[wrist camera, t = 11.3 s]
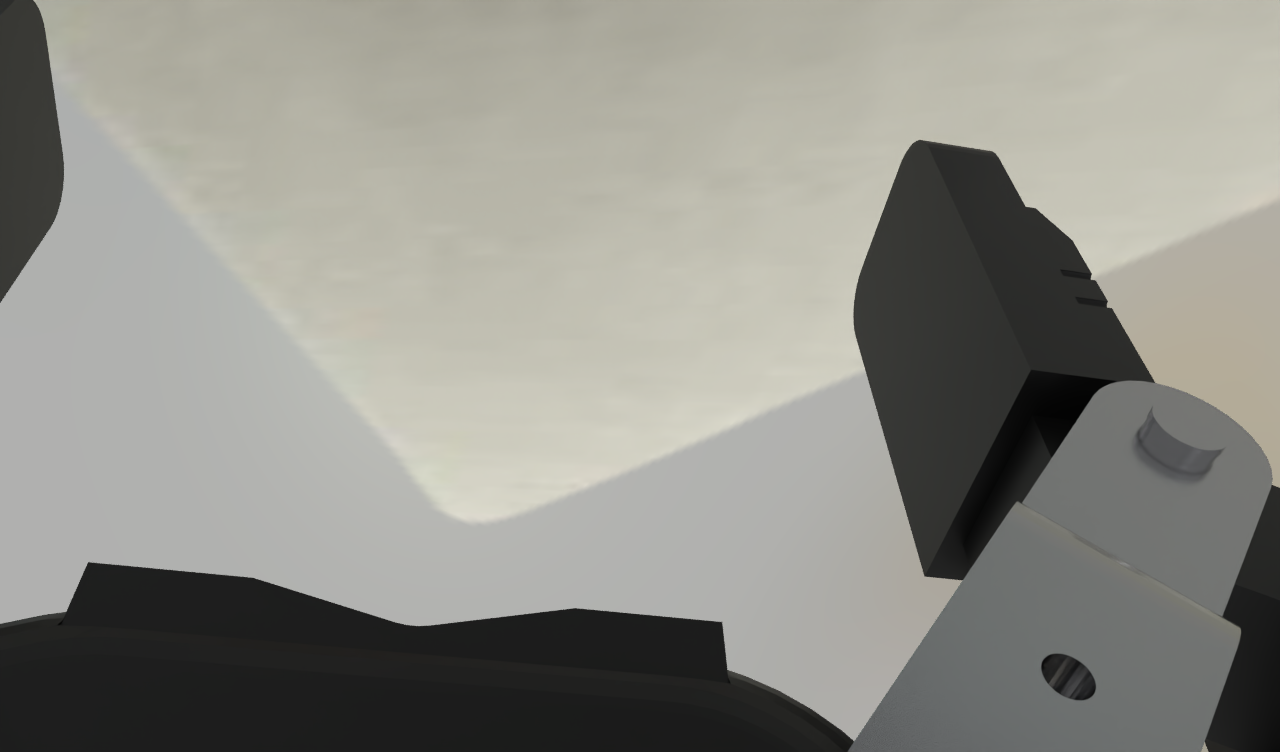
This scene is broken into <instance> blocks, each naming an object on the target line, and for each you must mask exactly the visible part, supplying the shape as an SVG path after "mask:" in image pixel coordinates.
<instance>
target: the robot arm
mask: <svg viewBox="0 0 1280 752" xmlns="http://www.w3.org/2000/svg"><path fill="white" fill-rule="evenodd" d="M63 181H64V162H63V152H62V145H61V138H60V131H59V125H58V118H57V110H56V103H55V96H54V89H53V82H52V75H51V68H50V61H49V54H48V47H47V40H46V33H45V28H44V23H43V19H42V16H41V13H40V11H39V8H38V7H37V5H36V3H35V2H34V1H33V0H0V302H1V301H2V299H3V298H4V296H5V295H6V293H7V292H8V290H9V289H10V287H11V286H12V284H13V283H14V281H15V280H16V278H17V277H18V275H19V274H20V272H21V271H22V269H23V268H24V266H25V265H26V263H27V262H28V260H29V259H30V257H31V256H32V254H33V253H34V251H35V250H36V248H37V247H38V245H39V244H40V242H41V241H42V239H43V238H44V236H45V235H46V233H47V232H48V230H49V229H50V227H51V226H52V224H53V222H54V220H55V218H56V215H57V212H58V209H59V205H60V202H61V197H62V191H63ZM1091 275H1092V273H1091V272H1090V270H1089V268H1088V267H1087V265H1086V263H1085V261H1084V260H1083V258H1082V256H1081V255H1080V253H1079V251H1078V249H1077V248H1076V246H1075V244H1074V242H1073V241H1072V240H1071V239H1070V238H1069V237H1068V236H1067V235H1065V234H1064V233H1063V232H1062V231H1061V230H1060V229H1059V228H1057V227H1056V226H1055V225H1054V224H1053V223H1052V222H1051V221H1049V220H1048V219H1047V218H1046V217H1045V216H1044V215H1043V214H1041V213H1040V212H1039V211H1038V210H1037V209H1036V208H1030V207H1025V205H1024V203H1023V201H1022V200H1021V198H1020V196H1019V194H1018V192H1017V190H1016V189H1015V187H1014V185H1013V183H1012V181H1011V179H1010V178H1009V176H1008V174H1007V172H1006V170H1005V169H1004V167H1003V165H1002V163H1001V161H1000V159H999V158H998V156H997V155H996V154H995V153H994V152H992V151H986V150H980V149H974V148H967V147H961V146H955V145H948V144H942V143H936V142H930V141H923V140H918V141H916V142H914V143H913V144H912V145H911V146H910V148H909V149H908V151H907V152H906V154H905V156H904V158H903V160H902V162H901V164H900V167H899V169H898V172H897V175H896V178H895V180H894V183H893V186H892V188H891V191H890V194H889V197H888V199H887V202H886V205H885V207H884V210H883V213H882V215H881V218H880V221H879V224H878V226H877V229H876V232H875V234H874V237H873V240H872V242H871V245H870V248H869V251H868V253H867V256H866V259H865V261H864V264H863V267H862V270H861V273H860V276H859V279H858V283H857V288H856V293H855V300H854V316H853V317H854V330H855V335H856V339H857V342H858V346H859V349H860V353H861V356H862V360H863V363H864V367H865V370H866V374H867V377H868V380H869V384H870V388H871V391H872V395H873V398H874V401H875V405H876V409H877V412H878V416H879V419H880V422H881V426H882V429H883V433H884V436H885V440H886V443H887V447H888V450H889V454H890V457H891V461H892V464H893V468H894V471H895V475H896V478H897V482H898V485H899V489H900V492H901V495H902V499H903V503H904V506H905V510H906V513H907V517H908V520H909V524H910V527H911V531H912V534H913V538H914V541H915V544H916V548H917V552H918V555H919V558H920V562H921V565H922V569H923V572H924V576H926V577H936V578H946V579H955V580H963V581H962V582H961V584H960V586H959V587H958V589H957V590H956V591H955V593H954V594H953V596H952V597H951V599H950V600H949V602H948V603H947V605H946V606H945V608H944V609H943V611H942V612H941V614H940V615H939V617H938V618H937V620H936V621H935V623H934V624H933V625H932V627H931V628H930V630H929V631H928V633H927V634H926V636H925V637H924V639H923V640H922V642H921V643H920V645H919V646H918V648H917V649H916V651H915V652H914V654H913V655H912V657H911V658H910V660H909V661H908V663H907V664H906V666H905V667H904V669H903V670H902V672H901V673H900V675H899V676H898V677H897V679H896V680H895V682H894V684H893V685H892V686H891V688H890V689H889V691H888V693H887V694H886V695H885V697H884V698H883V700H882V701H881V703H880V704H879V706H878V707H877V709H876V710H875V712H874V713H873V715H872V716H871V718H870V719H869V721H868V722H867V723H866V725H865V726H864V728H863V729H862V731H861V732H860V734H859V735H858V737H857V738H856V740H855V741H853V740H852V739H851V738H850V737H848V736H847V735H846V734H845V733H844V732H843V731H842V730H840V729H839V728H837V727H836V726H834V725H833V724H832V723H830V722H829V721H827V720H826V719H825V718H823V717H822V716H820V715H819V714H817V713H816V712H814V711H813V710H812V709H810V708H808V707H807V706H805V705H803V704H801V703H800V702H798V701H796V700H794V699H793V698H790V697H789V696H787V695H785V694H783V693H782V692H780V691H778V690H776V689H774V688H771V687H769V686H766V685H764V684H762V683H760V682H758V681H755V680H753V679H751V678H749V677H746V676H743V675H741V674H738V673H735V672H732V671H729V670H727V663H726V653H725V644H724V636H723V626H722V622H714V621H704V620H693V619H683V618H672V617H662V616H651V615H640V614H629V613H619V612H609V611H598V610H587V609H577V608H574V609H566V610H558V611H549V612H540V613H533V614H524V615H515V616H507V617H499V618H490V619H482V620H473V621H465V622H457V623H448V624H440V625H431V626H410V625H404V624H399V623H395V622H392V621H388V620H385V619H382V618H379V617H376V616H373V615H370V614H367V613H363V612H360V611H357V610H354V609H350V608H347V607H344V606H341V605H338V604H335V603H331V602H328V601H325V600H322V599H319V598H315V597H312V596H309V595H306V594H303V593H299V592H296V591H293V590H290V589H287V588H283V587H280V586H277V585H274V584H271V583H268V582H264V581H261V580H258V579H255V578H248V577H238V576H227V575H216V574H206V573H195V572H185V571H173V570H163V569H153V568H142V567H131V566H121V565H111V564H100V563H90V562H88V564H87V566H86V569H85V571H84V573H83V576H82V578H81V580H80V582H79V584H78V587H77V589H76V591H75V594H74V596H73V598H72V600H71V603H70V605H69V607H68V609H67V612H63V613H56V614H48V615H42V616H37V617H32V618H27V619H22V620H17V621H13V622H8V623H3V624H0V752H1201V750H1202V747H1203V745H1204V742H1205V743H1206V746H1207V749H1208V751H1209V752H1280V488H1278V487H1276V486H1273V485H1272V479H1273V478H1272V470H1271V467H1270V464H1269V461H1268V459H1267V457H1266V455H1265V454H1264V452H1263V450H1262V449H1261V447H1260V446H1259V445H1258V444H1257V442H1256V441H1255V440H1254V439H1253V437H1252V436H1251V435H1250V434H1249V433H1248V432H1247V431H1246V430H1244V428H1243V427H1242V426H1240V425H1239V424H1238V423H1237V422H1235V421H1234V420H1233V419H1232V418H1230V417H1229V416H1228V415H1226V414H1225V413H1223V412H1222V411H1220V410H1218V409H1217V408H1216V407H1214V406H1212V405H1210V404H1209V403H1206V402H1205V401H1203V400H1201V399H1199V398H1197V397H1195V396H1193V395H1190V394H1188V393H1186V392H1183V391H1180V390H1178V389H1175V388H1172V387H1168V386H1165V385H1161V384H1157V383H1155V382H1154V380H1153V378H1152V377H1151V375H1150V373H1149V371H1148V370H1147V368H1146V366H1145V364H1144V363H1143V361H1142V359H1141V358H1140V356H1139V354H1138V352H1137V351H1136V349H1135V347H1134V346H1133V344H1132V342H1131V341H1130V339H1129V337H1128V335H1127V334H1126V332H1125V330H1124V329H1123V327H1122V325H1121V323H1120V321H1119V320H1118V318H1117V316H1116V315H1115V313H1114V311H1113V309H1112V308H1107V302H1108V301H1107V299H1106V297H1105V296H1104V294H1103V292H1102V291H1101V289H1100V287H1099V286H1098V284H1097V282H1096V281H1095V280H1091Z"/></svg>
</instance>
